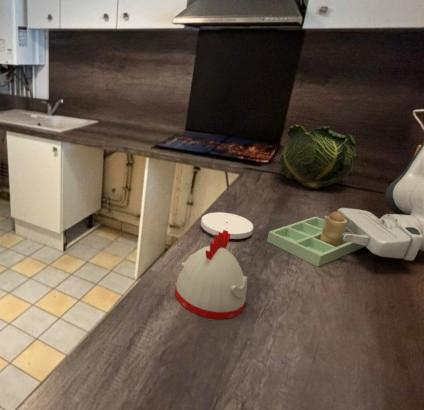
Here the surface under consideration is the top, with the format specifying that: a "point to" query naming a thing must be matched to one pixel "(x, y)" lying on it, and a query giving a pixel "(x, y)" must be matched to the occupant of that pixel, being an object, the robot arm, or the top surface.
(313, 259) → the grid
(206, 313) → the kitchen timer
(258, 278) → the top surface
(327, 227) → the beige toy figure
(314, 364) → the top surface
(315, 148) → the cabbage
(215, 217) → the plastic lid
